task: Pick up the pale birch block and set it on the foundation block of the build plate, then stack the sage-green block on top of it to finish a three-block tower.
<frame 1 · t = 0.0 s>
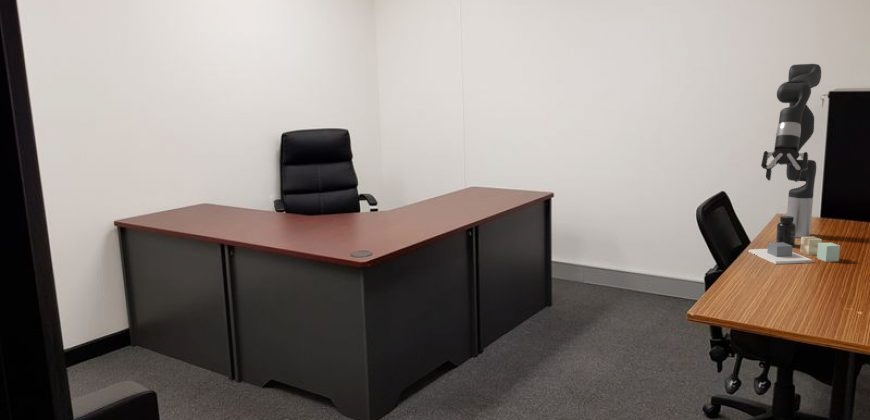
hand: (782, 180, 219), 31 cm above the table, tool tilted 20°, fingers open, 8 cm apart
supplement bottle: (785, 245, 254), on the table
build plate: (779, 257, 237), on the table
birch block: (810, 253, 241), on the table
sage block: (827, 259, 231), on the table
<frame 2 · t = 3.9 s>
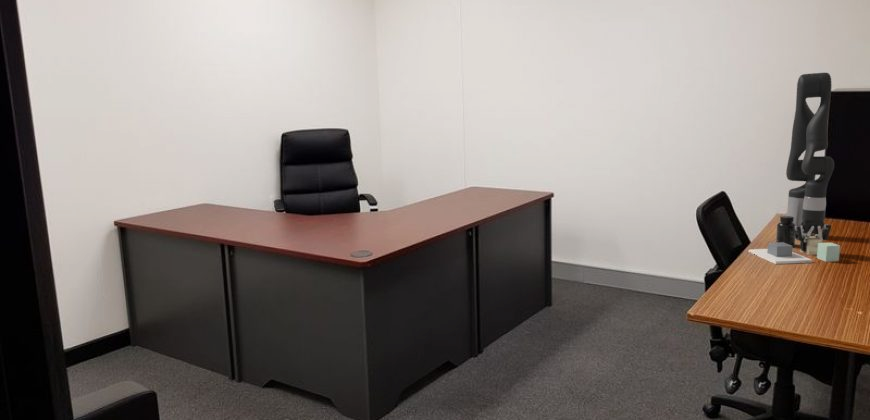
hand: (810, 250, 241), 1 cm above the table, tool pointing down, fingers closed on birch block, 5 cm apart
birch block: (810, 253, 241), on the table, touching gripper
everything else where it was.
when the fingers open (7 cm above the table, at t = 9.5 s): birch block drops 1 cm, resting on build plate.
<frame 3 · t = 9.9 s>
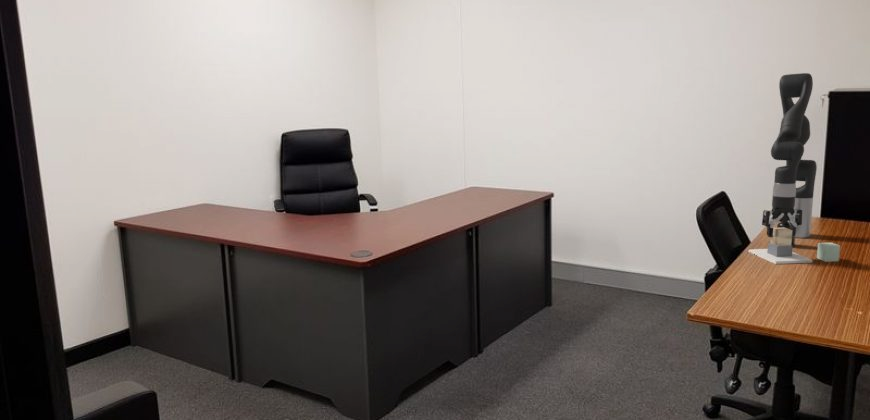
hand: (780, 236, 235), 8 cm above the table, tool pointing down, fingers open, 8 cm apart
birch block: (780, 244, 236), point 5 cm above the table, touching build plate
everything else where it was.
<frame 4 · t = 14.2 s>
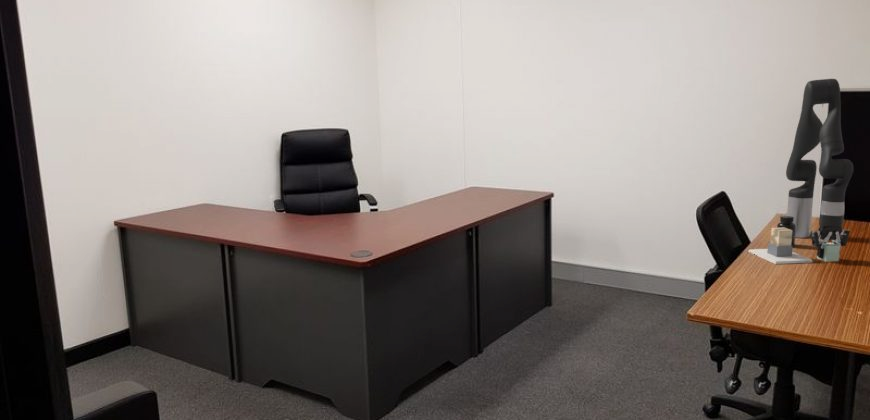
hand: (827, 257, 231), 1 cm above the table, tool pointing down, fingers closed on sage block, 5 cm apart
sage block: (827, 259, 231), on the table, touching gripper
everything else where it was.
when the fingers open (13 cm above the table, at t = 20.8 s): sage block drops 1 cm, resting on birch block.
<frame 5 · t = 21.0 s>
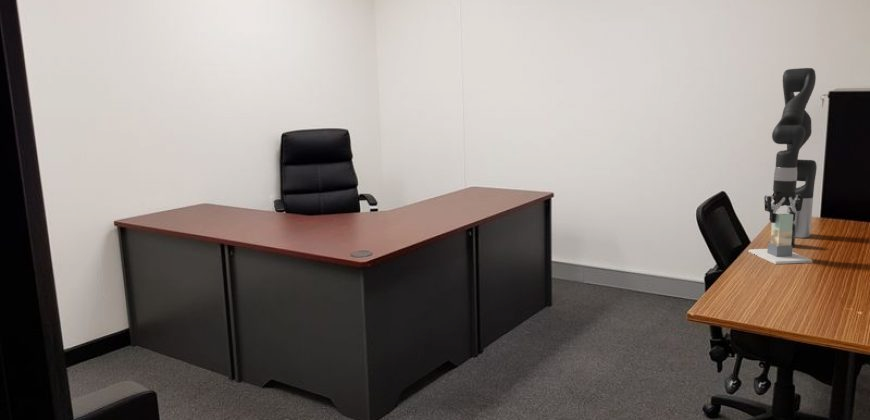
hand: (781, 222, 234), 14 cm above the table, tool pointing down, fingers open, 6 cm apart
birch block: (780, 244, 236), point 5 cm above the table, touching build plate, sage block
sage block: (781, 229, 235), point 11 cm above the table, touching birch block
everything else where it was.
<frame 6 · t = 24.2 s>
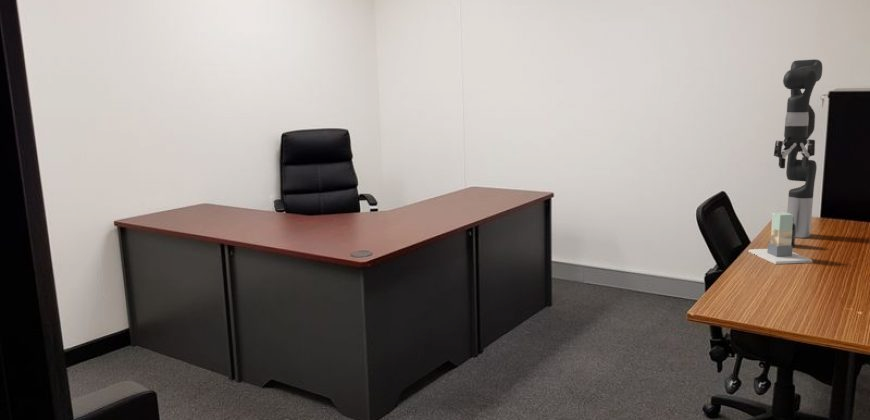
hand: (793, 167, 232), 34 cm above the table, tool pointing down, fingers open, 8 cm apart
nothing on the table moved.
at the end: birch block 0.2 cm from the target spot, point 5.0 cm above the table; sage block 0.1 cm from the target spot, point 11.0 cm above the table; sage block tilted 0° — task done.
